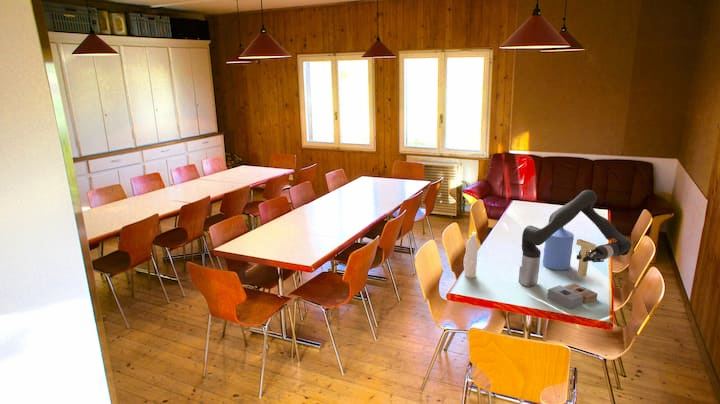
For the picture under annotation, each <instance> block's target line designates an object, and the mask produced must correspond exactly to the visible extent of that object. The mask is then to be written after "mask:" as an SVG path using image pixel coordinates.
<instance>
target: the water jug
mask: <svg viewBox="0 0 720 404" xmlns="http://www.w3.org/2000/svg"><path fill="white" fill-rule="evenodd" d="M574 237H575V234H574V233H573V232H571V231H569V230H568V229H565V228H564V226H563V227H562V228H560V229H559V230H558V231H556V232H555V233H554V234H553V235H552V236H551V237H549V238H548V239H547V240H546V241H545V242H544V247H543V258H542V265H543V266H544V267H546V268H548V269H550V270H554V271H566V270H569V269H570V267H571V260H572V259H571V258H572V255H573V245H574V244H573V243H574Z"/></svg>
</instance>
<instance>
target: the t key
mask: <svg viewBox="0 0 720 404" xmlns="http://www.w3.org/2000/svg"><path fill="white" fill-rule="evenodd" d="M576 245H577V246H580V250H581V251H580V250H579V251H580V259H579V260H578V266H577V267H578V268H577V276H579V277H580V278H585V277H586V276H587V272H588V266H589V261H587V262H583V258H584V257H589V252H590V250H594V249H595V247H596V246H597V245H596V244H595V243H594V242H591V241H587V240H584V239H582V238H579V239H576Z"/></svg>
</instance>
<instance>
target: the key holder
mask: <svg viewBox="0 0 720 404" xmlns="http://www.w3.org/2000/svg"><path fill="white" fill-rule="evenodd" d="M547 299H549V300H550V301H553V302H554V303H557V304H559V305H560V306H563V308H564V307H565V308H567V309H568V310H572V309H575V308H578V307H581V306H583V304H584V303H583V296H582V295H580V294H578V293H576V292H574V291H571V290H569V289H567V288H565V287H564V285H561V284H560V285H556V286H554V287H551V288H548V289H547Z"/></svg>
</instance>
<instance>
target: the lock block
mask: <svg viewBox="0 0 720 404" xmlns="http://www.w3.org/2000/svg"><path fill="white" fill-rule="evenodd" d="M563 287H565V288H567V289H569V290H571V291H574V292H576V293H578V294H580V295H582V296H583V303H582V304H589V303H591V302H594V301H597V300H598V293H597V292H596V291H593V290H592V289H589V288H586V287H584V286H582V285H579V284H577V283H576V282H572V283H569V284H567V285H563Z"/></svg>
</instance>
